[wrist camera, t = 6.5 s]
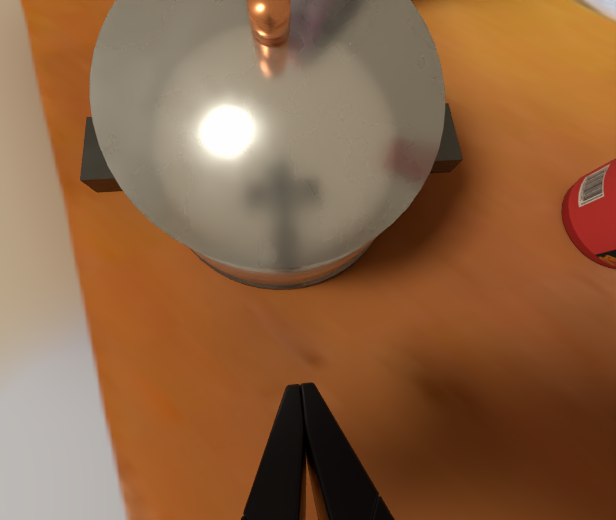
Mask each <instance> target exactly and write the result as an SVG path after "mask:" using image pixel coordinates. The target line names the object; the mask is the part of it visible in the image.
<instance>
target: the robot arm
mask: <svg viewBox="0 0 616 520" xmlns="http://www.w3.org/2000/svg"><path fill="white" fill-rule="evenodd" d="M305 449H306V450H305ZM306 458H307V465H308V471H309V476H310V481H311V486H312V491H313V496H314V501H315V506H316V511H317V516H318V520H395V519H394V518H393V516H392V514H391V513H390V511H389V510H388V508H387V506H386V504H385V503H384V501H383V499H382V498H381V496H379V497H378V495H379V493H378V491H377V489H376V488H375V486H374V484H373V483H372V481H371V479H370V478H369V476H368V474H367V472H366V471H365V469H364V467H363V466H362V464H361V462H360V461H359V459H358V457H357V455H356V454H355V452H354V450H353V449H352V447H351V445H350V444H349V442H348V440H347V438H346V437H345V435H344V433H343V432H342V430H341V428H340V427H339V425H338V423H337V421H336V420H335V418H334V416H333V415H332V413H331V411H330V410H329V408H328V406H327V404H326V403H325V401H324V399H323V398H322V396H321V394H320V393H319V391H318V389H317V387H316V386H315V384H314V383H312V382H311V383H302V384H301V385H299V384H293V385H288V386H287V387H286V389H285V392H284V395H283V398H282V400H281V403H280V406H279V409H278V412H277V415H276V418H275V421H274V424H273V427H272V430H271V433H270V436H269V439H268V442H267V445H266V447H265V450H264V453H263V456H262V459H261V462H260V465H259V468H258V471H257V474H256V477H255V480H254V483H253V486H252V489H251V492H250V495H249V497H248V500H247V503H246V506H245V509H244V512H243V514H244V516H242V518H241V520H305V516H306Z"/></svg>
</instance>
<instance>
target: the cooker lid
mask: <svg viewBox="0 0 616 520" xmlns="http://www.w3.org/2000/svg"><path fill="white" fill-rule="evenodd" d="M90 105H91V113H92V121H93V125H94V129H95V132H96V136H97V140H98V143H99V146H100V149H101V151H102V153H103V156H104V158H105V160H106V163H107V165H108V167H109V169H110V171H111V172H112V174H113V176H114V177H115V179H116V181H117V182H118V184H119V186H120V187H121V189H122V190H123V191H124V193H125V194H126V195H127V196H128V198H129V199H130V200H131V201H132V203H133V204H134V205H135V206H136V208H137V209H139V210H140V211H141V212H142V213H143V214H144V215H145V216H146V217H147V218H148V219H149V220H150V221H151V222H152V223H153V224H154V225H156V226H157V227H158V228H160V229H161V230H162V231H164V232H165V233H166V234H168V235H169V236H171V237H172V238H173V239H175V240H177V241H179V242H180V243H182V244H184V245H186V246H188V247H189V248H191V249H193V250H195V251H197V252H200V253H202V254H205V255H208V256H210V257H213V258H215V259H218V260H222V261H226V262H230V263H234V264H238V265H242V266H249V267H257V268H266V269H278V268H295V267H302V266H308V265H313V264H316V263H320V262H323V261H327V260H330V259H334V258H336V257H339V256H341V255H343V254H346V253H348V252H350V251H353V250H355V249H357V248H359V247H360V246H362V245H363V244H365V243H367V242H368V241H370V240H372V239H373V238H375V237H376V236H378V235H379V234H380V233H381V232H383V231H384V230H385V229H386V228H388V227H389V226H390V225H391V224H393V223H394V222H395V220H396V219H397V218H398V217H399V216H400V215H401V214H402V213H403V212H404V211H405V210H406V209H407V208H408V207H409V205H410V204H411V202H412V201H413V200H414V198H415V197H416V196H417V194H418V193H419V191H420V190H421V188H422V186H423V184H424V183H425V181H426V179H427V177H428V175H429V173H430V171H431V169H432V166H433V164H434V161H435V158H436V156H437V153H438V150H439V146H440V142H441V137H442V133H443V127H444V116H445V87H444V81H443V75H442V69H441V64H440V60H439V57H438V54H437V50H436V47H435V44H434V42H433V39H432V37H431V35H430V33H429V30H428V28H427V26H426V24H425V22H424V20H423V19H422V17H421V15H420V14H419V12H418V10H417V9H416V7H415V5H414V4H413V3H412V1H411V0H116V1H115V3H114V4H113V6H112V7H111V9H110V11H109V13H108V15H107V17H106V19H105V21H104V23H103V26H102V28H101V30H100V33H99V36H98V40H97V43H96V46H95V49H94V53H93V59H92V66H91V72H90Z"/></svg>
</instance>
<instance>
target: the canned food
mask: <svg viewBox="0 0 616 520" xmlns="http://www.w3.org/2000/svg"><path fill="white" fill-rule="evenodd" d="M562 218H563V223H564V226H565V229H566V231H567V233H568V235H569V237H570V239H571V240H572V241H573V243H574V244H575V246H576V247H577V248H578V249H579V250H580V251H581V252H582V253H583V254H584V255H586V256H587V257H588V258H590V259H591V260H593V261H595V262H596V263H598V264H600V265H603V266H606V267H609V268H616V159H614V160H612V161H610V162H608V163H607V164H605V165H603V166H601V167H599V168H597V169H596V170H594V171H592V172H590V173H588V174H586V175H585V176H583V177H581V178H580V179H579V180H578V181H577V182H576V183H575V184H574V185H573V186H572V187H571V188H570V189H569V190H568V192H567V193H566V195H565V197H564V200H563V203H562Z"/></svg>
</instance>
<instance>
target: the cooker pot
mask: <svg viewBox="0 0 616 520" xmlns="http://www.w3.org/2000/svg"><path fill="white" fill-rule="evenodd" d="M461 160H462V156H461V152H460V148H459V144H458V140H457V136H456V132H455V128H454V124H453V120H452V116H451V112H450V108H449V105H448V103H445V116H444V127H443V133H442V137H441V142H440V146H439V150H438V153H437V156H436V158H435V161H434V164H433V166H432V169H431V171H430V173H444V172H451V171H452V170H453V169H454V168H455V167H456V166H457V164H458V163H459V162H460V161H461ZM80 180H81V181H82V182H83V183H85V184H86V185H87V186H89V187H90V188H92V189H93V190H94V191H96V192H113V191H123V190H122V189H121V187H120V186H119V184H118V182H117V181H116V179H115V177H114V176H113V174H112V172H111V171H110V169H109V167H108V165H107V163H106V160H105V158H104V156H103V153H102V151H101V149H100V146H99V143H98V140H97V136H96V132H95V129H94V125H93V121H92V117H87V120H86V129H85V139H84V148H83V157H82V167H81V176H80ZM376 237H377V236H376ZM376 237H375V238H376ZM375 238H373V239H372V240H370V241H368V242H367V243H365V244H363V245H362V246H360V247H359V248H357V249H355V250H353V251H350V252H348V253H346V254H343V255H341V256H339V257H336V258H334V259H330V260H327V261H323V262H320V263H316V264H313V265H308V266H302V267H295V268H278V269H266V268H257V267H249V266H242V265H238V264H234V263H230V262H226V261H222V260H218V259H215V258H213V257H210V256H208V255H205V254H202V253H200V252H197V251H195V250H193V249H191V248H190V249H191V250H192V251H193V252H194V253H195V254H196V255H197V256H198V257H199V258H200V259H201V260H202V261H203V262H204V263H206V264H207V265H208V266H210V267H211V268H212V269H214V270H215V271H216V272H218V273H220V274H222V275H224V276H225V277H227V278H229V279H231V280H234V281H236V282H239V283H242V284H244V285H248V286H252V287H256V288H262V289H272V290H290V289H297V288H303V287H308V286H311V285H314V284H318V283H321V282H323V281H325V280H328V279H330V278H332V277H334V276H336V275H337V274H339V273H341V272H342V271H344V270H346V269H347V268H348V267H349V266H351V265H352V264H353V263H354V262H356V261H357V260H358V259H359V258H360V257H361V255H362V254H363V253H364V252H365V251H366V250H367V249H368V248H369V247H370V245H371V244H372V242H373V241H374V239H375Z"/></svg>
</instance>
